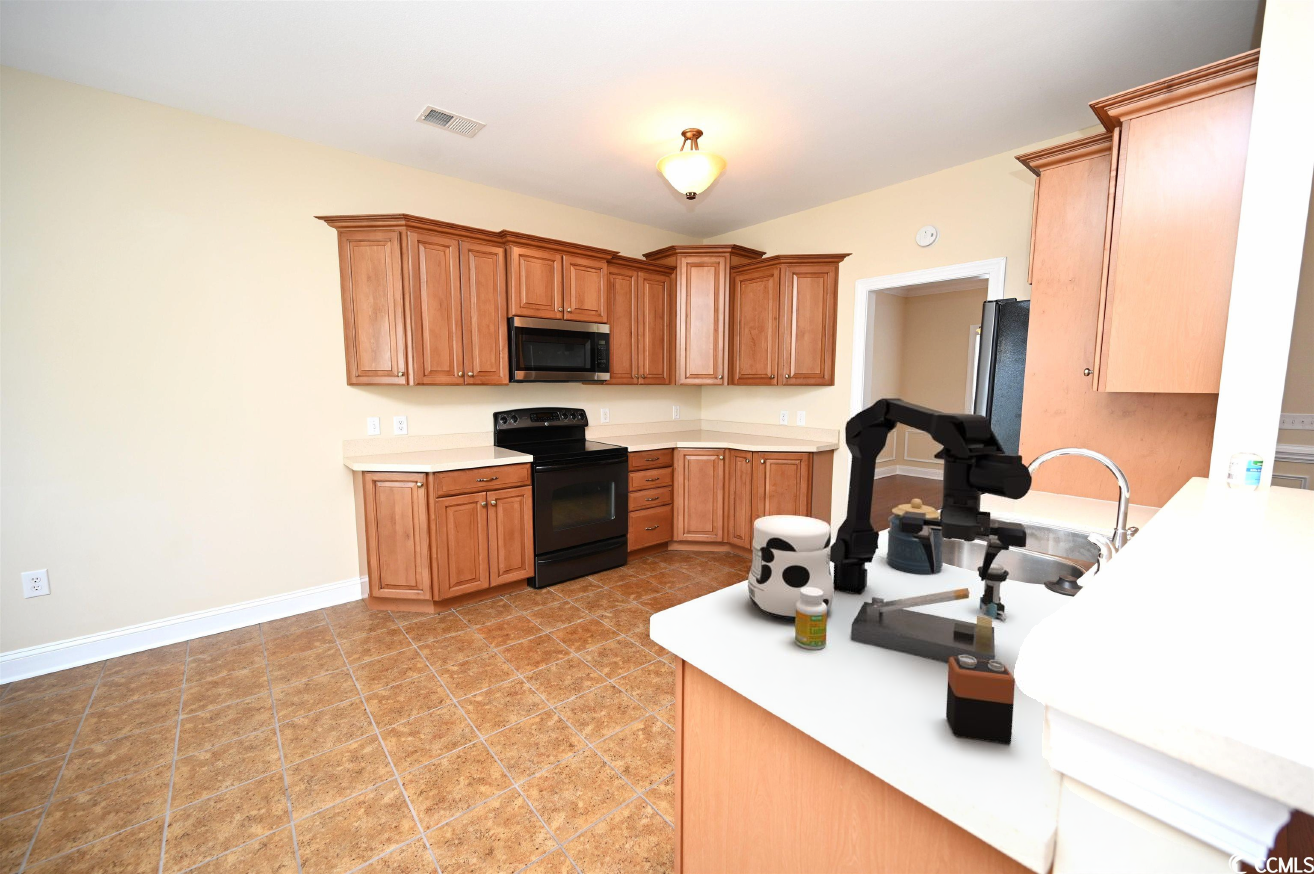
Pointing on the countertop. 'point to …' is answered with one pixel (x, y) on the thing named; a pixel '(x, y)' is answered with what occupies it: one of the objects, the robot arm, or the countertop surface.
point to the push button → (993, 591)
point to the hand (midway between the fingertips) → (957, 576)
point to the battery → (980, 699)
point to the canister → (912, 542)
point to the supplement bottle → (811, 619)
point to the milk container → (789, 562)
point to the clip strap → (923, 600)
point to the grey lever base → (923, 633)
